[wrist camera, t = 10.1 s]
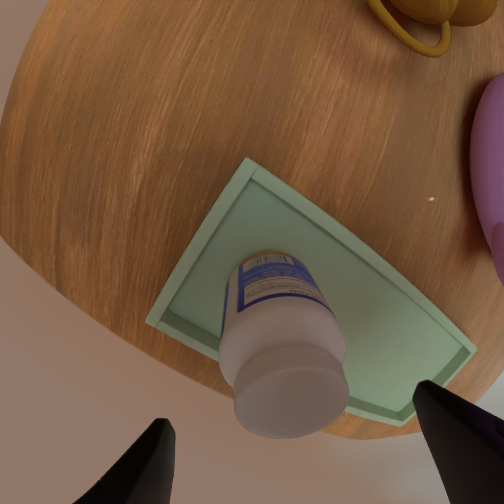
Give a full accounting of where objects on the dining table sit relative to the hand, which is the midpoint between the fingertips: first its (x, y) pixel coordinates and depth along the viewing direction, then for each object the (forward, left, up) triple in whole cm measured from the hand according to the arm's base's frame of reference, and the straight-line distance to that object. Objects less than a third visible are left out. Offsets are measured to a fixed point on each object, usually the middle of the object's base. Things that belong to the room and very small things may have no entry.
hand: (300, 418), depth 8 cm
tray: (+8, 0, -10) cm, 13 cm away
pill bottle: (0, 0, -10) cm, 10 cm away
